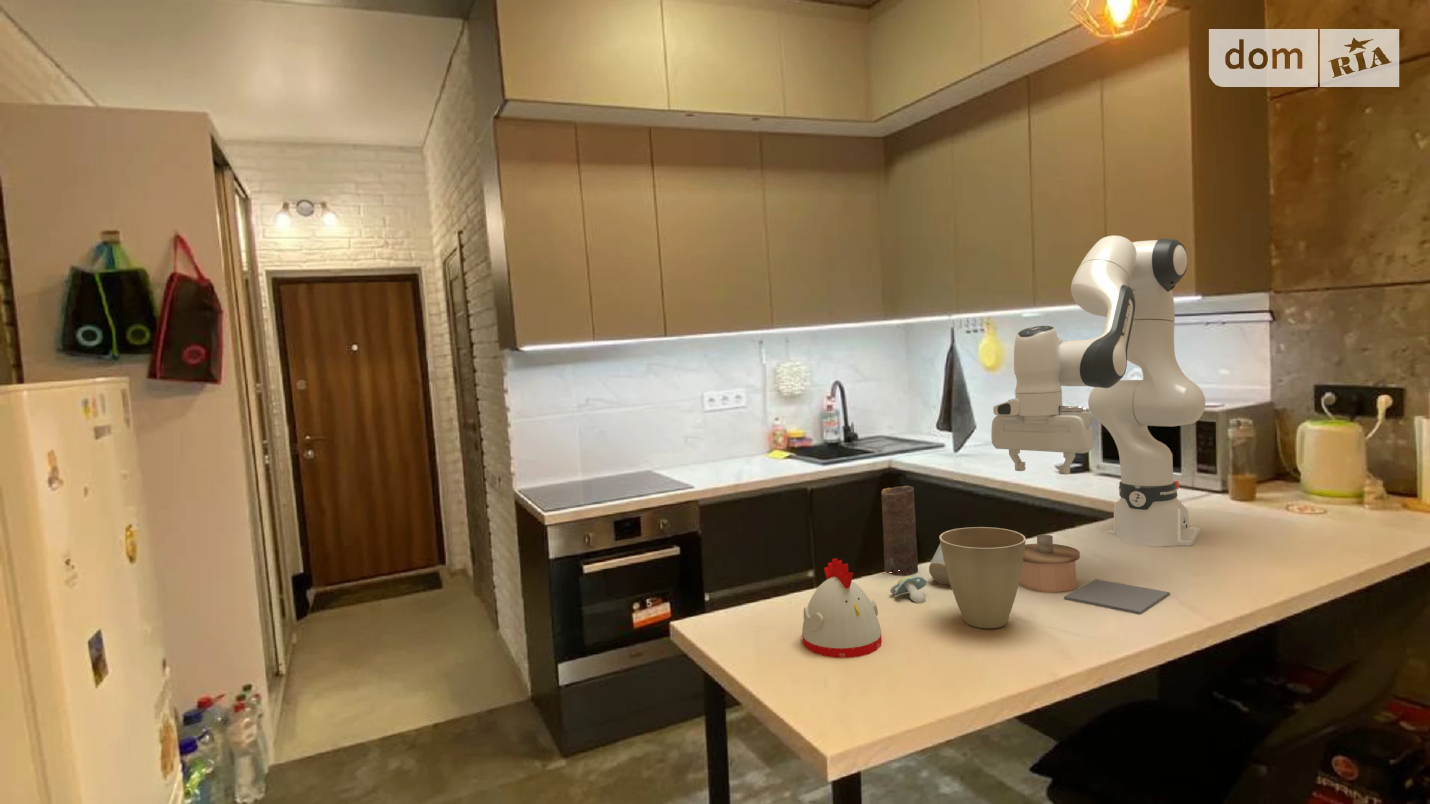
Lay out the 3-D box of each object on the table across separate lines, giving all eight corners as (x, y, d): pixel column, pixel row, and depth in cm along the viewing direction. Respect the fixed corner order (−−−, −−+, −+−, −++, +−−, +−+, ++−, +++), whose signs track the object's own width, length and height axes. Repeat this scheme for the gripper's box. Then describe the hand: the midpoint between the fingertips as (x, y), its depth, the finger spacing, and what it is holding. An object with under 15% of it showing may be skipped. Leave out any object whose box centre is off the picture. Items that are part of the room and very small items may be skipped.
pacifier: (911, 587, 162) (923, 570, 158) (927, 612, 158) (940, 595, 154) (883, 593, 158) (894, 576, 155) (899, 619, 154) (911, 602, 151)
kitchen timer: (829, 664, 128) (823, 575, 127) (788, 638, 141) (783, 557, 140) (897, 646, 134) (893, 561, 133) (853, 622, 146) (848, 545, 145)
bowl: (1034, 572, 168) (1033, 545, 168) (1085, 581, 160) (1084, 553, 160) (1008, 585, 161) (1007, 557, 161) (1060, 595, 153) (1058, 565, 153)
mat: (1095, 581, 160) (1095, 579, 160) (1169, 594, 149) (1169, 592, 149) (1064, 598, 151) (1064, 596, 151) (1140, 614, 140) (1140, 611, 140)
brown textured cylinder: (919, 580, 169) (914, 490, 167) (885, 581, 170) (880, 491, 169) (917, 570, 176) (912, 484, 175) (884, 570, 178) (879, 485, 176)
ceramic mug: (942, 591, 165) (918, 566, 165) (958, 564, 169) (935, 539, 169) (977, 585, 156) (952, 558, 156) (993, 556, 160) (969, 530, 160)
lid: (1031, 547, 170) (1030, 526, 169) (1091, 557, 160) (1090, 534, 159) (1000, 561, 161) (999, 538, 161) (1061, 571, 151) (1060, 547, 151)
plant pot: (929, 626, 141) (925, 541, 140) (963, 603, 152) (959, 524, 151) (1011, 643, 131) (1007, 551, 130) (1041, 616, 142) (1037, 531, 141)
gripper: (1097, 404, 152) (1100, 473, 153) (1001, 403, 168) (1004, 466, 169) (1082, 407, 148) (1085, 478, 149) (985, 406, 164) (989, 471, 165)
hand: (1041, 472), depth 159 cm, fingers open, 8 cm apart
